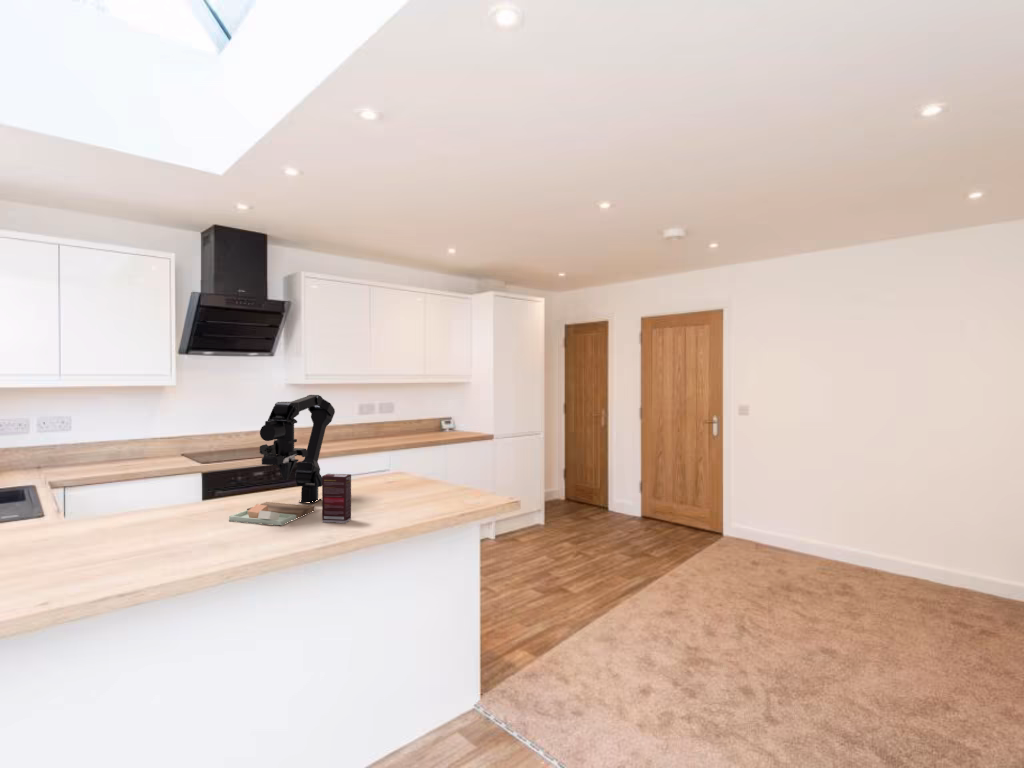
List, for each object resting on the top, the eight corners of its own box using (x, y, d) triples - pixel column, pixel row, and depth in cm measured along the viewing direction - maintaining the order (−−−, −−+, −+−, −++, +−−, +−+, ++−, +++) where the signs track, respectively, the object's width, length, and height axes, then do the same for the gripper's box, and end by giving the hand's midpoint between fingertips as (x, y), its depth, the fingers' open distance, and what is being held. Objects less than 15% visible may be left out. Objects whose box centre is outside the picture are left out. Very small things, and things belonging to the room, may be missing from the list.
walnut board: (266, 507, 192) (266, 501, 192) (314, 511, 187) (314, 506, 187) (247, 514, 182) (247, 508, 182) (296, 519, 178) (296, 513, 178)
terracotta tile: (258, 510, 181) (257, 504, 180) (269, 511, 180) (267, 505, 179) (249, 517, 177) (247, 511, 176) (259, 519, 176) (258, 512, 175)
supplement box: (351, 519, 178) (352, 473, 178) (345, 523, 174) (346, 476, 173) (327, 518, 179) (328, 473, 179) (321, 522, 174) (321, 475, 174)
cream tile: (259, 510, 172) (257, 518, 171) (271, 511, 170) (269, 519, 170) (269, 512, 176) (267, 519, 175) (280, 513, 174) (278, 520, 174)
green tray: (246, 514, 182) (246, 510, 182) (296, 519, 177) (296, 514, 177) (229, 521, 174) (229, 516, 174) (280, 526, 170) (280, 521, 170)
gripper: (282, 432, 196) (282, 473, 196) (247, 439, 177) (247, 484, 178) (308, 433, 193) (308, 475, 194) (276, 441, 175) (276, 486, 176)
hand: (285, 480), depth 186 cm, fingers closed
